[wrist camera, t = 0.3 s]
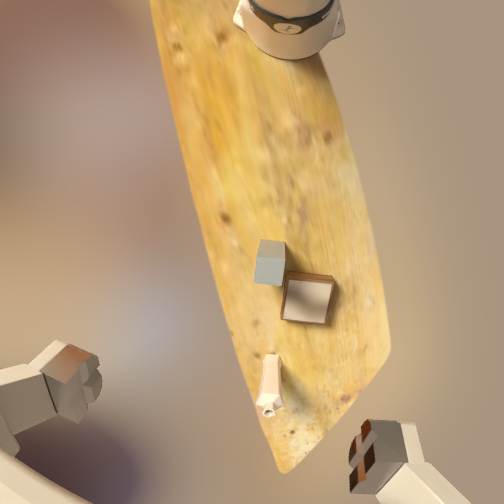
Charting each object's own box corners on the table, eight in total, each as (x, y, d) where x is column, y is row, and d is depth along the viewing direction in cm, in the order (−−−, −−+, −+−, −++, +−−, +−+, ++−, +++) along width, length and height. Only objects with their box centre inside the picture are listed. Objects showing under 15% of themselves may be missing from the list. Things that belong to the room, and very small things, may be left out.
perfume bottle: (289, 360, 61) (289, 411, 47) (274, 373, 62) (272, 425, 48) (271, 347, 61) (267, 398, 46) (256, 361, 62) (249, 413, 48)
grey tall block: (261, 239, 55) (256, 256, 46) (284, 242, 55) (285, 259, 45) (258, 261, 56) (253, 282, 47) (281, 264, 56) (281, 286, 47)
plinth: (286, 270, 56) (286, 277, 53) (331, 276, 56) (334, 282, 53) (280, 312, 59) (280, 320, 55) (323, 316, 58) (325, 325, 55)
